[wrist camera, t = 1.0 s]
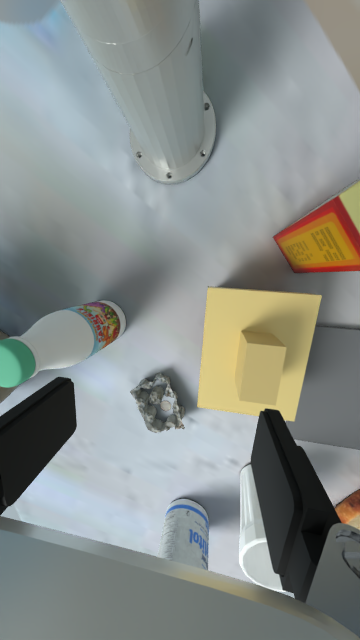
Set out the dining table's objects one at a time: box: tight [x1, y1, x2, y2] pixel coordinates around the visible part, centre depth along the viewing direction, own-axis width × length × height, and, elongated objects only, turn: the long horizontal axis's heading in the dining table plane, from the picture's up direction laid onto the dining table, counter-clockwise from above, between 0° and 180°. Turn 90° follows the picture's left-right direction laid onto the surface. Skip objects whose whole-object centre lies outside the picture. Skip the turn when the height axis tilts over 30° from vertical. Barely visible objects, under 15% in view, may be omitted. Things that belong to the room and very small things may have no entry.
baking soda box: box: [273, 179, 360, 273], centre depth 22 cm, size 10×6×16 cm
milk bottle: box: [0, 300, 126, 388], centre depth 28 cm, size 8×8×20 cm
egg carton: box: [130, 373, 185, 433], centre depth 38 cm, size 11×8×4 cm
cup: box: [239, 465, 285, 592], centre depth 34 cm, size 10×10×13 cm
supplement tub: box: [157, 499, 209, 570], centre depth 38 cm, size 10×10×15 cm
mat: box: [286, 325, 360, 450], centre depth 33 cm, size 21×17×1 cm
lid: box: [197, 286, 322, 421], centre depth 26 cm, size 18×14×8 cm
